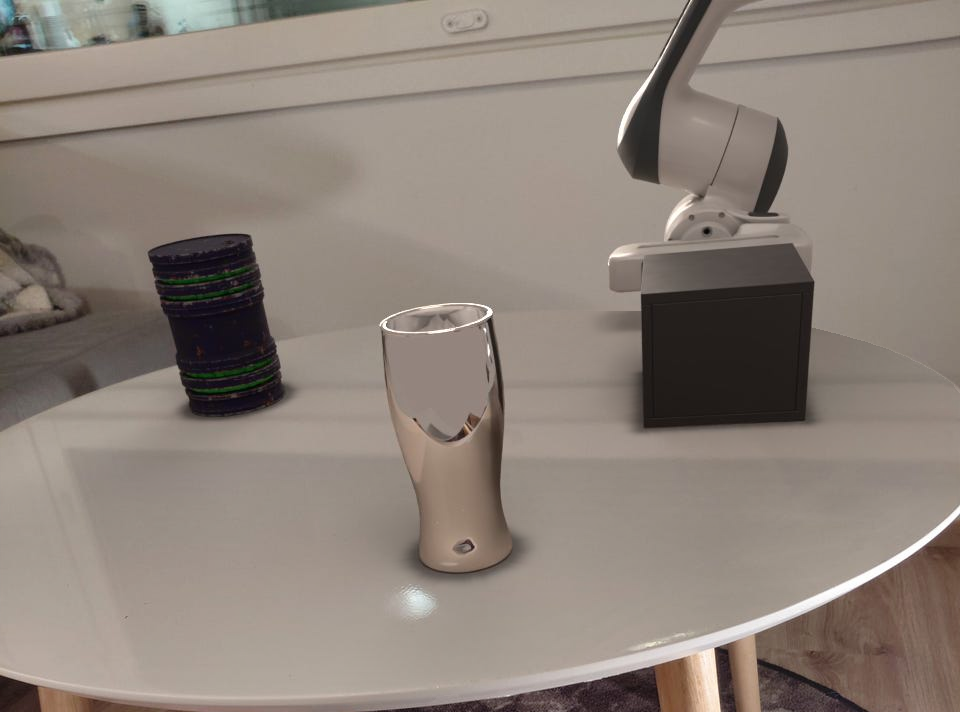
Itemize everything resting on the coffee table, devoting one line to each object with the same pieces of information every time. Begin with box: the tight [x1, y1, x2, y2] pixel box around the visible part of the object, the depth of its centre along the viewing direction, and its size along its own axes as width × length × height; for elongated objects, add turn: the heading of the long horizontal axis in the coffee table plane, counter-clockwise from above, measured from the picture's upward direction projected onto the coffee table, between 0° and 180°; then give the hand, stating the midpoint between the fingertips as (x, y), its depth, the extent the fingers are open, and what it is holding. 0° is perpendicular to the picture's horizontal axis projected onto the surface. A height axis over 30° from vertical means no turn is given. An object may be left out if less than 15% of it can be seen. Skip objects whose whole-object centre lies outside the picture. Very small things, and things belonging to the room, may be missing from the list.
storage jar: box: [147, 232, 286, 418], centre depth 95 cm, size 10×10×15 cm
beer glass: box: [379, 302, 513, 574], centre depth 60 cm, size 7×7×15 cm
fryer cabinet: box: [640, 243, 816, 429], centre depth 81 cm, size 15×13×11 cm
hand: (710, 279), depth 94 cm, fingers closed
